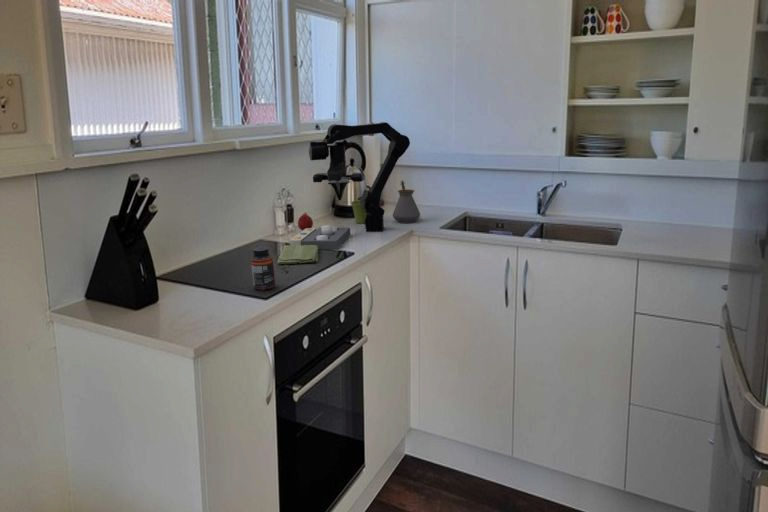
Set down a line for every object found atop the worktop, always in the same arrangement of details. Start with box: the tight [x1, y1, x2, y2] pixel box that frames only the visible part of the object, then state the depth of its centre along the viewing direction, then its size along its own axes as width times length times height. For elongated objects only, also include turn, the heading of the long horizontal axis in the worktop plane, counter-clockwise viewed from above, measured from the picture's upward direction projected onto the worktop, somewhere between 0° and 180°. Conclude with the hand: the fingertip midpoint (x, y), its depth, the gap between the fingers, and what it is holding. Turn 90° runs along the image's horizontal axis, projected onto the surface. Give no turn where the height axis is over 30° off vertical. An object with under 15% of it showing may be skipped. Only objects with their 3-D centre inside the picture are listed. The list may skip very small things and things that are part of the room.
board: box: [302, 227, 351, 250], centre depth 217 cm, size 12×22×3 cm, turn 170°
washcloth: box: [277, 244, 319, 265], centre depth 197 cm, size 13×18×3 cm
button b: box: [320, 224, 333, 236], centre depth 217 cm, size 4×4×4 cm
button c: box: [316, 235, 328, 240], centre depth 210 cm, size 4×4×4 cm
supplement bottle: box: [250, 246, 276, 291], centre depth 166 cm, size 6×6×11 cm
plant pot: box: [350, 199, 367, 225], centre depth 249 cm, size 9×9×9 cm
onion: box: [297, 212, 314, 232], centre depth 234 cm, size 6×6×8 cm
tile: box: [288, 227, 317, 246], centre depth 219 cm, size 4×20×3 cm, turn 170°
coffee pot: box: [392, 180, 421, 224], centre depth 252 cm, size 21×12×15 cm, turn 3°
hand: (340, 200), depth 227 cm, fingers closed
